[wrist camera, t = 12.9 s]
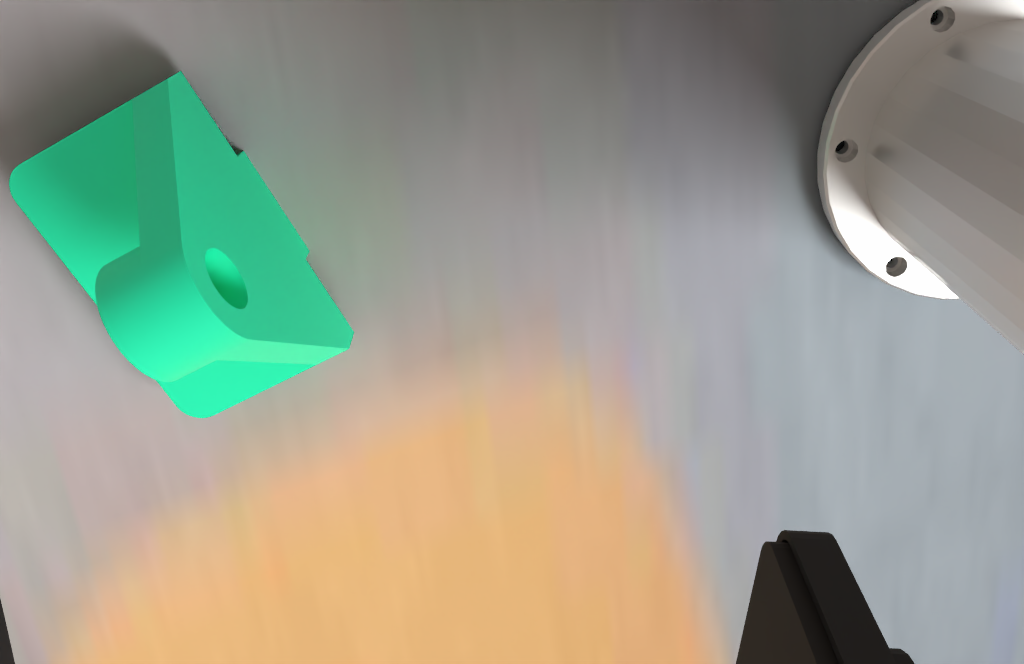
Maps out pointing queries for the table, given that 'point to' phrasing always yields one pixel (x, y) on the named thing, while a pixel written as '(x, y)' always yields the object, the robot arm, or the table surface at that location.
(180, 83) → the camera mount
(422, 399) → the table surface
